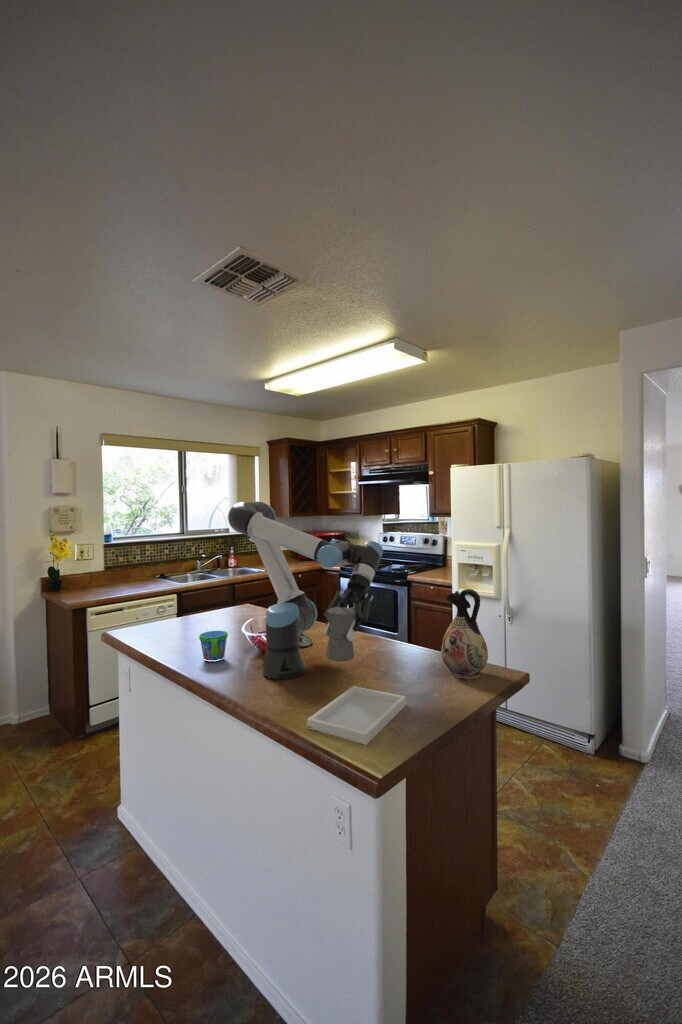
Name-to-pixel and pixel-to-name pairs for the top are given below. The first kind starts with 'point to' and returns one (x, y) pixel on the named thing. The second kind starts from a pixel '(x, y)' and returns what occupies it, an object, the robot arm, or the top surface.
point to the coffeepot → (340, 632)
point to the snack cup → (213, 644)
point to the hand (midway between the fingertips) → (337, 637)
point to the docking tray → (357, 714)
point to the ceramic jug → (464, 639)
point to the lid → (304, 640)
